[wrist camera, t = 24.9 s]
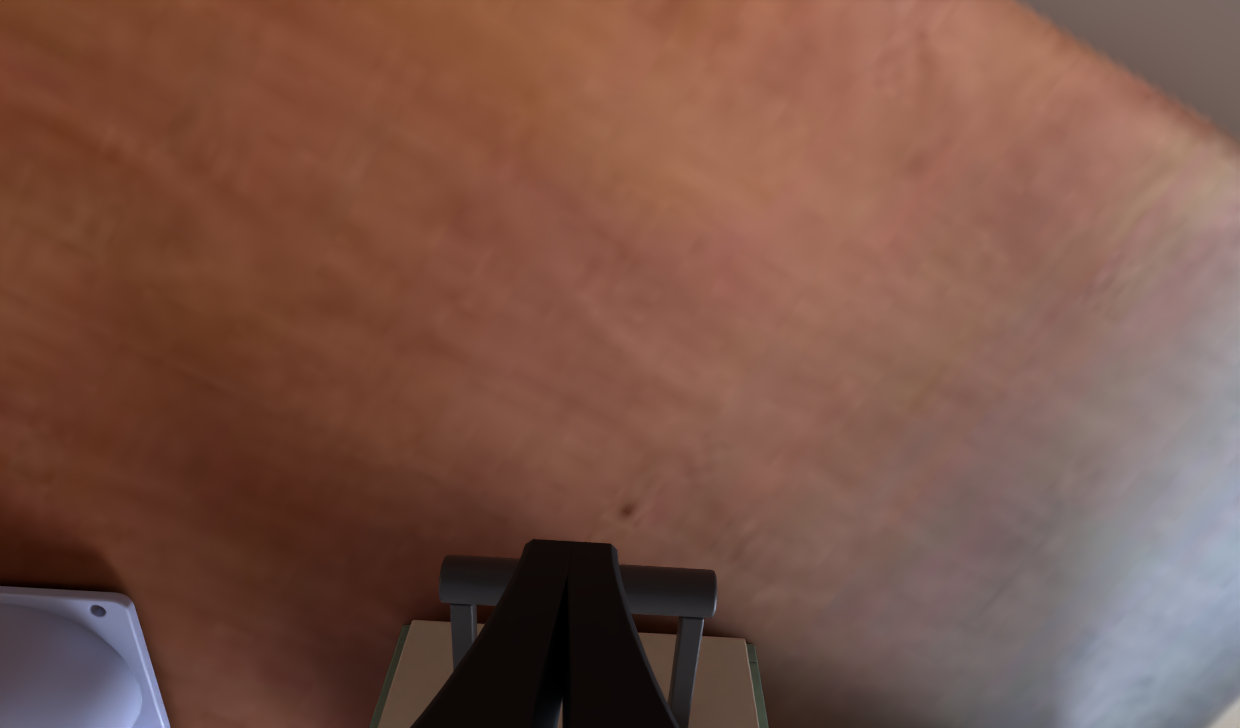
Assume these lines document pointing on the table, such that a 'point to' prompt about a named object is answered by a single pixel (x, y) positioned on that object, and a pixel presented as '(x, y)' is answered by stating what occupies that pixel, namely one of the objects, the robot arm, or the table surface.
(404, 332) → the table surface
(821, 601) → the table surface
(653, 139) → the table surface
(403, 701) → the drawer
